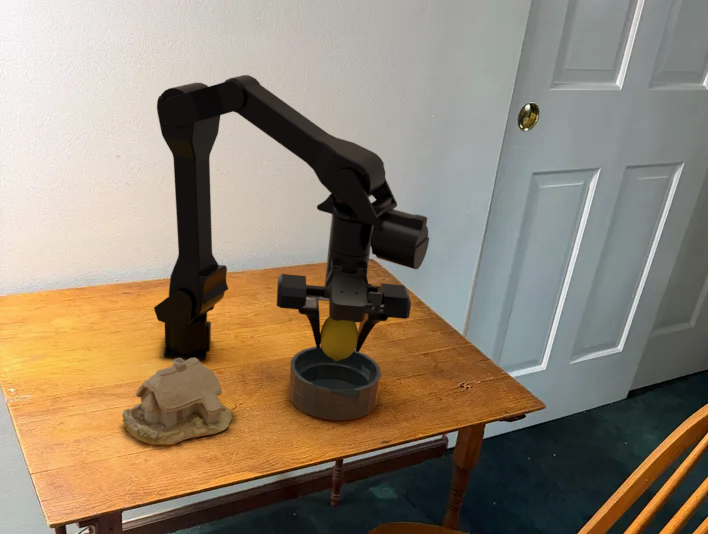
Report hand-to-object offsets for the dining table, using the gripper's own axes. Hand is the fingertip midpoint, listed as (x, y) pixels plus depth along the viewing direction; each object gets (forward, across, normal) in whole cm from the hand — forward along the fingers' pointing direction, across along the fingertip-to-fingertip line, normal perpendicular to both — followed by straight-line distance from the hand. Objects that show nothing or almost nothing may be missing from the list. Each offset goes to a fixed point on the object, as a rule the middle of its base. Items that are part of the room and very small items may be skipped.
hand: (337, 349), depth 117 cm
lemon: (+2, 0, 0) cm, 2 cm away
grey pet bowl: (+9, 0, 0) cm, 9 cm away
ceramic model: (+9, -22, -9) cm, 25 cm away
